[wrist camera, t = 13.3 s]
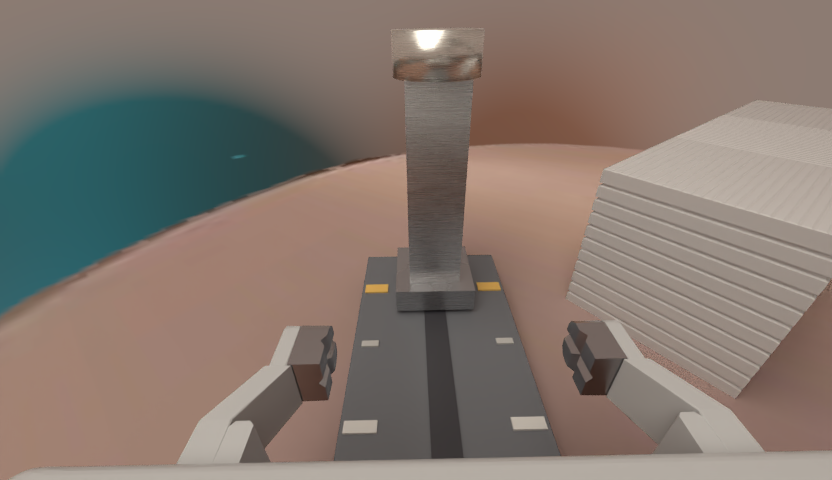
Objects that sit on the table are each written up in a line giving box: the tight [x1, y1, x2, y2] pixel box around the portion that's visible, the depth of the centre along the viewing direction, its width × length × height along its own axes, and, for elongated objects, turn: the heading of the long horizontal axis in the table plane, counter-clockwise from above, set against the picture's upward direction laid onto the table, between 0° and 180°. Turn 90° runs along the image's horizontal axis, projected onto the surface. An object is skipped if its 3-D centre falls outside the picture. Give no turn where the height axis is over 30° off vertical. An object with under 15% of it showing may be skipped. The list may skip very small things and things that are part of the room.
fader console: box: [334, 255, 561, 461], centre depth 21 cm, size 18×10×2 cm, turn 1°
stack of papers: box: [566, 100, 832, 398], centre depth 29 cm, size 32×11×11 cm, turn 128°
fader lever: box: [391, 28, 485, 311], centre depth 21 cm, size 5×5×16 cm
